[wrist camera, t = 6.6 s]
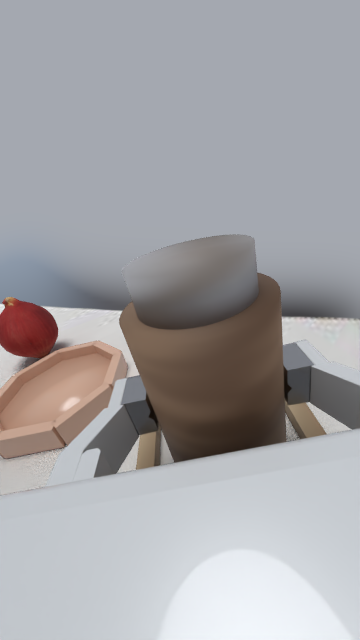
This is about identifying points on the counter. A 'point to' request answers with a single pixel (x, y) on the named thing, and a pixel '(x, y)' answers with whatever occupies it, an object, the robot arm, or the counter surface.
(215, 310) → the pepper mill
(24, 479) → the counter surface
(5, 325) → the onion
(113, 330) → the counter surface
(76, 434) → the dish
